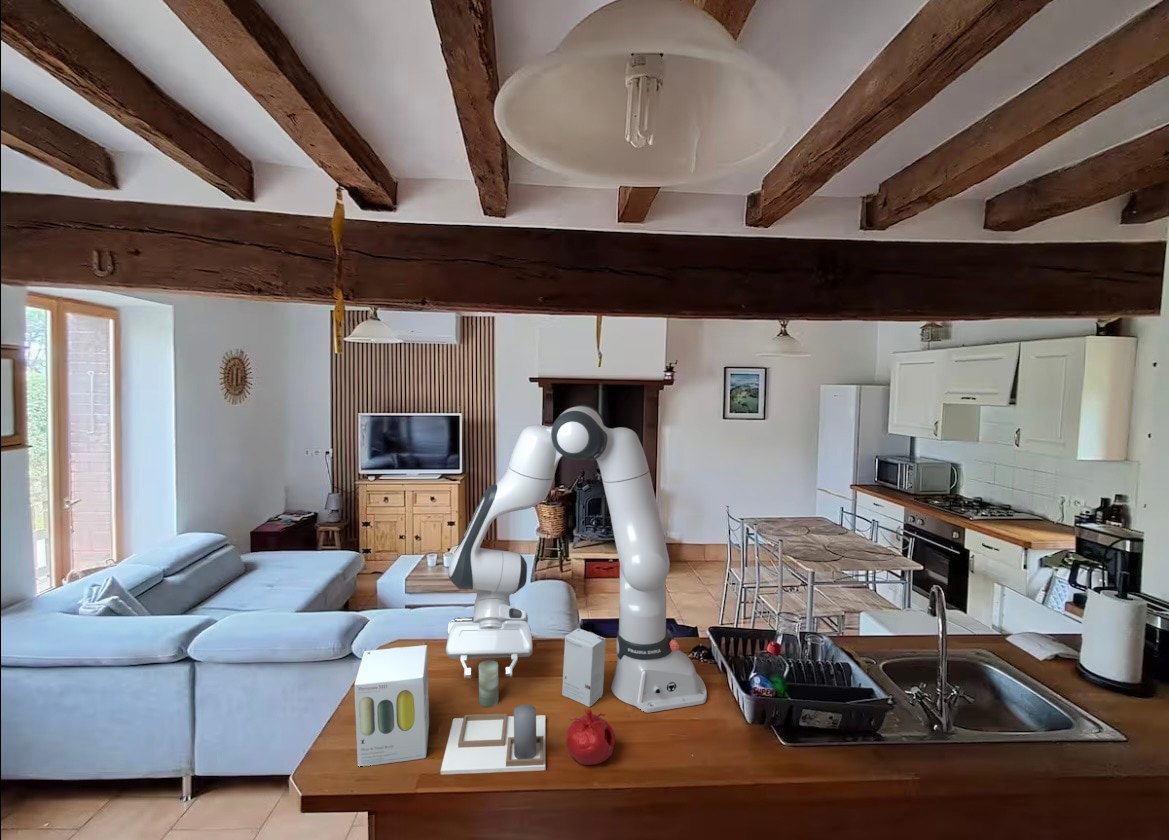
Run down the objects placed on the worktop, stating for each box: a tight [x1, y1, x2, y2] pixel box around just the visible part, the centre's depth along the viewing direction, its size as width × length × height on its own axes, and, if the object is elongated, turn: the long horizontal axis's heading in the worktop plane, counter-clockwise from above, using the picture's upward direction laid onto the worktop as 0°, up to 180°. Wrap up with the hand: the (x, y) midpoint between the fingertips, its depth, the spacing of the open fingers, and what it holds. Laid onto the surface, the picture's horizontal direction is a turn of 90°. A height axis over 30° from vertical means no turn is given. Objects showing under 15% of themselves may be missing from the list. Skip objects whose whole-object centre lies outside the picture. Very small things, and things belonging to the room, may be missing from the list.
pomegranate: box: [565, 708, 616, 766], centre depth 117 cm, size 10×10×9 cm
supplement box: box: [354, 644, 430, 768], centre depth 120 cm, size 13×13×18 cm
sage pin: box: [478, 659, 500, 709], centre depth 135 cm, size 4×4×9 cm
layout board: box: [440, 703, 546, 776], centre depth 120 cm, size 20×16×10 cm
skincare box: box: [561, 628, 607, 708], centre depth 137 cm, size 8×6×15 cm
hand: (488, 676), depth 134 cm, fingers open, 8 cm apart
